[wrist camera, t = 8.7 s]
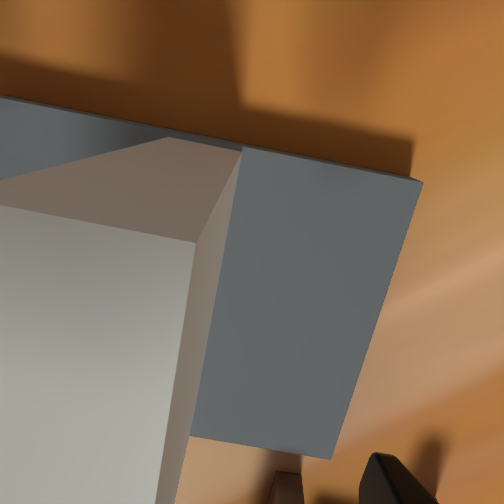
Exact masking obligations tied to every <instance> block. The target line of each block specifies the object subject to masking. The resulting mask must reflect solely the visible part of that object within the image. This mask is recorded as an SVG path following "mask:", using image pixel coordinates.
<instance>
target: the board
mask: <svg viewBox="0 0 504 504" xmlns="http://www.w3.org/2000/svg"><path fill="white" fill-rule="evenodd" d="M241 156H242V152H241V151H236V150H231V149H226V148H221V147H216V146H211V145H206V144H201V143H197V142H192V141H187V140H182V139H177V138H172V137H166V138H162V139H158V140H155V141H151V142H147V143H143V144H139V145H135V146H131V147H127V148H124V149H120V150H116V151H112V152H108V153H104V154H100V155H97V156H93V157H89V158H85V159H81V160H77V161H73V162H69V163H66V164H62V165H58V166H54V167H50V168H46V169H42V170H39V171H35V172H31V173H27V174H23V175H19V176H15V177H11V178H8V179H4V180H0V504H174V501H175V496H176V492H177V488H178V483H179V479H180V474H181V470H182V465H183V461H184V457H185V452H186V448H187V443H188V439H189V434H190V430H191V426H192V421H193V417H194V411H195V406H196V400H197V395H198V390H199V384H200V379H201V373H202V368H203V362H204V357H205V352H206V346H207V341H208V335H209V330H210V324H211V319H212V314H213V308H214V303H215V297H216V292H217V286H218V281H219V276H220V270H221V265H222V259H223V254H224V248H225V243H226V237H227V232H228V227H229V221H230V216H231V210H232V205H233V199H234V194H235V189H236V183H237V178H238V172H239V167H240V161H241Z"/></svg>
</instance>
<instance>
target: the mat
mask: <svg viewBox="0 0 504 504" xmlns="http://www.w3.org/2000/svg"><path fill="white" fill-rule="evenodd" d="M166 137H172V138H177V139H182V140H187V141H192V142H197V143H201V144H206V145H211V146H216V147H221V148H226V149H231V150H236V151H241V152H242V156H241V161H240V167H239V172H238V178H237V183H236V189H235V194H234V199H233V205H232V210H231V216H230V221H229V227H228V232H227V237H226V243H225V248H224V254H223V259H222V265H221V270H220V276H219V281H218V286H217V292H216V297H215V303H214V308H213V314H212V319H211V324H210V330H209V335H208V341H207V346H206V352H205V357H204V362H203V368H202V373H201V379H200V384H199V390H198V395H197V400H196V406H195V411H194V417H193V421H192V426H191V430H190V434H189V436H194V437H200V438H205V439H211V440H217V441H223V442H229V443H235V444H241V445H247V446H252V447H258V448H264V449H270V450H276V451H282V452H288V453H294V454H299V455H305V456H311V457H317V458H323V459H329V460H331V458H332V455H333V452H334V449H335V446H336V443H337V440H338V437H339V434H340V431H341V428H342V425H343V422H344V419H345V416H346V413H347V410H348V407H349V404H350V401H351V398H352V395H353V392H354V389H355V386H356V383H357V380H358V377H359V374H360V371H361V368H362V365H363V362H364V359H365V356H366V353H367V350H368V347H369V344H370V341H371V338H372V335H373V332H374V329H375V326H376V323H377V320H378V317H379V314H380V311H381V308H382V305H383V302H384V299H385V296H386V293H387V290H388V287H389V284H390V281H391V278H392V275H393V272H394V269H395V266H396V263H397V260H398V257H399V254H400V251H401V248H402V245H403V242H404V239H405V236H406V233H407V230H408V227H409V224H410V221H411V218H412V215H413V212H414V209H415V206H416V204H417V201H418V198H419V195H420V192H421V189H422V186H423V182H421V181H418V180H416V179H414V178H412V177H408V176H403V175H398V174H393V173H388V172H383V171H378V170H373V169H368V168H363V167H358V166H353V165H348V164H343V163H338V162H333V161H328V160H323V159H318V158H313V157H308V156H303V155H298V154H293V153H288V152H283V151H278V150H273V149H268V148H263V147H258V146H253V145H248V144H243V143H238V142H233V141H228V140H223V139H218V138H213V137H208V136H203V135H198V134H193V133H188V132H183V131H178V130H173V129H168V128H163V127H158V126H153V125H149V124H144V123H139V122H134V121H129V120H124V119H119V118H114V117H109V116H104V115H99V114H94V113H89V112H84V111H79V110H74V109H69V108H64V107H59V106H54V105H49V104H44V103H39V102H34V101H29V100H24V99H19V98H14V97H9V96H4V95H0V180H4V179H8V178H11V177H15V176H19V175H23V174H27V173H31V172H35V171H39V170H42V169H46V168H50V167H54V166H58V165H62V164H66V163H69V162H73V161H77V160H81V159H85V158H89V157H93V156H97V155H100V154H104V153H108V152H112V151H116V150H120V149H124V148H127V147H131V146H135V145H139V144H143V143H147V142H151V141H155V140H158V139H162V138H166Z"/></svg>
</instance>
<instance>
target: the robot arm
mask: <svg viewBox="0 0 504 504" xmlns="http://www.w3.org/2000/svg"><path fill="white" fill-rule="evenodd" d="M359 504H439V503H438V502H437V501H436V500H435V499H434V498H433V496H432V495H431V494H430V493H429V492H428V491H427V490H426V489H425V488H424V487H423V486H422V484H421V483H420V482H419V481H418V480H417V479H416V478H415V477H414V476H413V475H412V474H411V472H410V471H409V470H408V469H407V468H406V467H405V466H404V465H403V464H402V463H401V462H400V460H399V459H398V458H396V457H395V456H393V455H390V454H384V453H378V452H375V453H373V454H372V455H371V456H370V458H369V460H368V463H367V466H366V468H365V471H364V474H363V476H362V479H361V482H360V486H359Z"/></svg>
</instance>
